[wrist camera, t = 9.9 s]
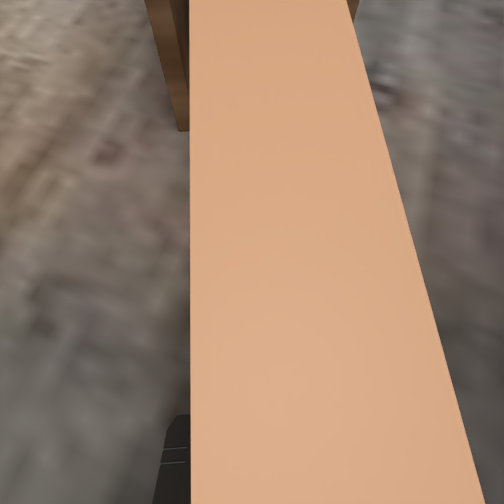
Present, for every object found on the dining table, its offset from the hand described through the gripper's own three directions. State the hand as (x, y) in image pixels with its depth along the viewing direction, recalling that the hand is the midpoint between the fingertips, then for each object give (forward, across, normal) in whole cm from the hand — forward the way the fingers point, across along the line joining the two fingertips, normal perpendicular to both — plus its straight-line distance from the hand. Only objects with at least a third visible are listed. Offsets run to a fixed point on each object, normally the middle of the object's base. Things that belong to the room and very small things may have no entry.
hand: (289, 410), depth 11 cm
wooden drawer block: (+7, 0, -1) cm, 7 cm away
